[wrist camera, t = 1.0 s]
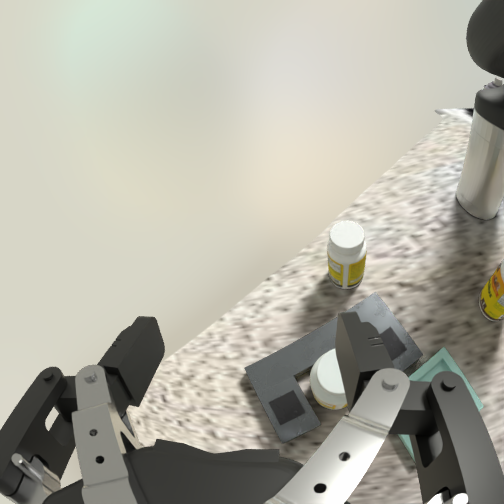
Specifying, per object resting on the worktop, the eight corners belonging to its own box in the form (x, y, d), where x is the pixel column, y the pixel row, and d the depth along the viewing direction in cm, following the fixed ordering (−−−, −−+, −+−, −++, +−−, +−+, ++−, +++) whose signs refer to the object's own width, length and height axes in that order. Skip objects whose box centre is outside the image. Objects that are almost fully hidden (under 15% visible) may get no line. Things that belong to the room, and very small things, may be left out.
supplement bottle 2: (313, 412, 26) (307, 405, 18) (311, 367, 29) (305, 343, 22) (361, 406, 24) (375, 396, 17) (357, 362, 28) (368, 334, 20)
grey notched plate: (373, 297, 32) (375, 291, 31) (419, 358, 25) (423, 354, 24) (248, 370, 31) (244, 367, 29) (284, 442, 24) (282, 443, 23)
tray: (440, 349, 25) (444, 346, 24) (478, 407, 19) (483, 406, 18) (376, 400, 24) (378, 399, 23) (416, 464, 18) (419, 465, 17)
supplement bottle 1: (364, 261, 35) (369, 219, 29) (362, 291, 33) (368, 252, 26) (330, 258, 37) (328, 216, 31) (326, 288, 35) (323, 249, 28)
